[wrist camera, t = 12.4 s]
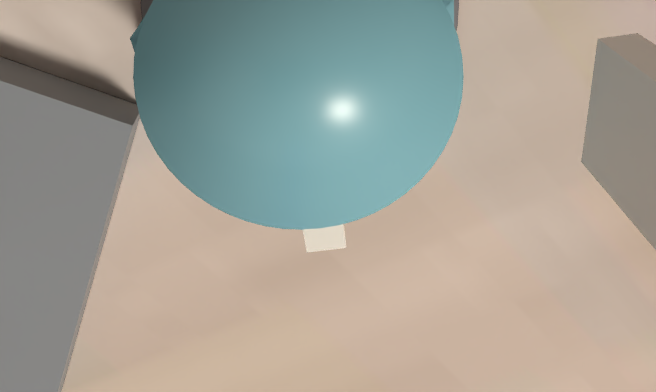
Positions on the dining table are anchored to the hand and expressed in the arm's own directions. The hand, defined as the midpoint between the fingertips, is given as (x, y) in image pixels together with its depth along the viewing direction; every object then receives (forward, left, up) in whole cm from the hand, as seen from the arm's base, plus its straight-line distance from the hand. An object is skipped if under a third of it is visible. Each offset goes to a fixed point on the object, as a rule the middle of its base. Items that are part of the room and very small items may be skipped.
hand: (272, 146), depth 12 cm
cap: (0, 0, -8) cm, 8 cm away
